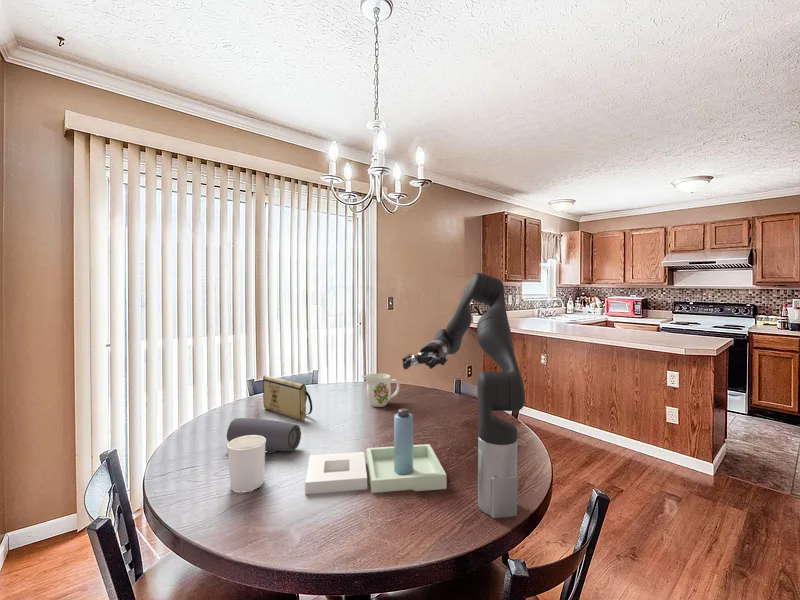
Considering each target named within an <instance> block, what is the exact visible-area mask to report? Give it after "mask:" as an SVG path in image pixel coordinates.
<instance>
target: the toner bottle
mask: <svg viewBox="0 0 800 600" xmlns="http://www.w3.org/2000/svg"><path fill="white" fill-rule="evenodd" d="M393 416H394V417H393V446H394V472H395V473H396V474H399V475H409V474H411V473H412V472H413V445H414V414H412V413H410V409H409V408H399V409H398V410H397V413H395V414H393Z"/></svg>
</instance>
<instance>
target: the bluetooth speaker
mask: <svg viewBox="0 0 800 600" xmlns="http://www.w3.org/2000/svg"><path fill="white" fill-rule="evenodd" d="M300 427H301V426H300V425H299V424H296V423H292V422H289V421H288V422H287V421H280V420H273V419H263V418H252V417H251V418H249V417H238V418H237V417H236V418H233V419H232V420H231V421H230V422H229V425H228V428H227V432H226V439H227V441H228V443H229V442H230V441H231V440H233V439H235V438H238V437H242V436H248V435H259V436H263V437H265V439H266V447H265V451H267V452H275V453H276V452H293V451H295V450H297V448H299V445H300V442H301V439H302V431H301V430H302V429H301V428H300Z"/></svg>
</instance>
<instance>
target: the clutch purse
mask: <svg viewBox="0 0 800 600" xmlns="http://www.w3.org/2000/svg"><path fill="white" fill-rule="evenodd" d="M262 380H263V381H262V391H263V393H262V395H263V397H262V399H263V400H262V401H263V402H262V403H263V407H264V409H265V410H268V411H272V412H274V413H278V414H281V415H284V416H288V417H290V418H293V419H297V420H299V421H301V422H304V421H305V419H306V415H310V414H312V412H313V402H312V401H313V400H312V398H311V396H310V394H309V391H307V386H306V385H305V384H302V383H299V382H295V381H289V380H286V379H282V378H278V377H274V376H270V375H266V374H264V375H263V378H262ZM307 400H308V402H309V407H310V408H309V412H308V413H307V404H306V403H307ZM303 420H304V421H303Z"/></svg>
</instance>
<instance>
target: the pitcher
mask: <svg viewBox="0 0 800 600" xmlns="http://www.w3.org/2000/svg"><path fill="white" fill-rule="evenodd" d="M361 377H362V379H365V381H366V382H367V384H366V395H367V398H368V401H369V404H370V405H371V406H372V407H375V408H381V407H383V408H384V407H385V406H387V405H388V403H389V401H390V399H392V398H396V396H397V395H398V393H400V382H399V381H398V379H395V378H393V379H391V375H390V374H388V373H369V374H365V375H361ZM392 383H395V384H396V390H395V392H394V393H392V386H391V384H392ZM391 393H392V394H391Z"/></svg>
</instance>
